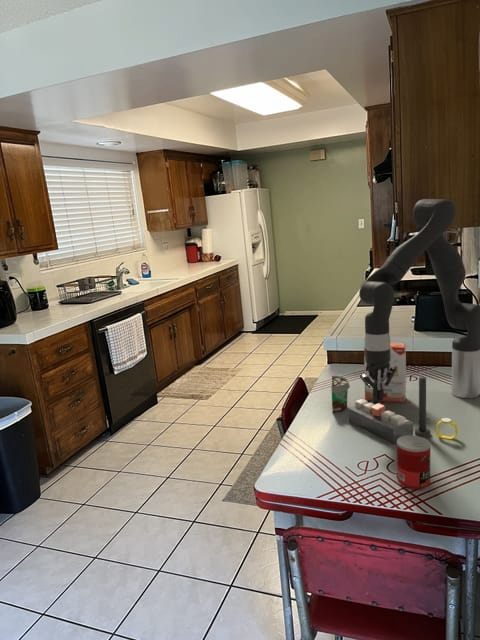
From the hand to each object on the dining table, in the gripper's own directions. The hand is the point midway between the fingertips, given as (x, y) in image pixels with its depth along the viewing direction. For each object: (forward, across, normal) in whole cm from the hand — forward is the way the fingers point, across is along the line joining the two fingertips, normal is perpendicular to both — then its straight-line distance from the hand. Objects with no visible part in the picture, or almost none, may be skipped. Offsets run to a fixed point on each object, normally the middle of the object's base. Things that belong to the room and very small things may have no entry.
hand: (378, 399), depth 150 cm
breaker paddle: (+5, 0, 0) cm, 5 cm away
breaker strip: (+10, 0, 0) cm, 10 cm away
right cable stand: (+10, -8, +10) cm, 16 cm away
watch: (+10, -12, +16) cm, 22 cm away
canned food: (+10, +14, +27) cm, 32 cm away
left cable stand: (+10, -8, -10) cm, 16 cm away
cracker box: (+10, -19, -17) cm, 27 cm away
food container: (+10, -2, -21) cm, 23 cm away
